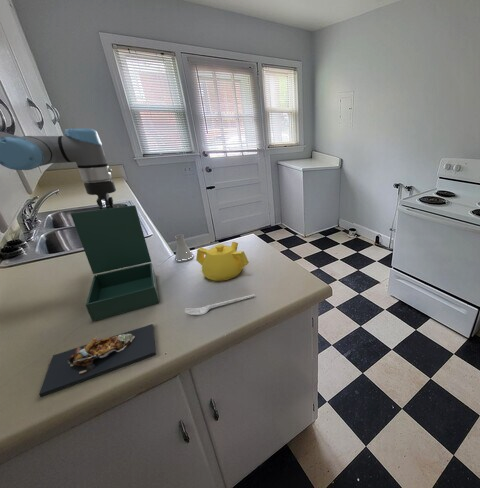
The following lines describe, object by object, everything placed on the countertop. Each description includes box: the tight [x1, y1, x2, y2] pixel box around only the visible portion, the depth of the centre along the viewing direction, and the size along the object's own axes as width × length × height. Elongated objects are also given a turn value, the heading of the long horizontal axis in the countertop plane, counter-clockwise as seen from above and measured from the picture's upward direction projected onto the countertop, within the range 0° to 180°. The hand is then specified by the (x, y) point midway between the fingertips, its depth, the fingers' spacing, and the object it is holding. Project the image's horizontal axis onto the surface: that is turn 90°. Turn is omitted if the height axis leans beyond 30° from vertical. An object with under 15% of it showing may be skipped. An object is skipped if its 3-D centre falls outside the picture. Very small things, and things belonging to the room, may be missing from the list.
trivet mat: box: [38, 323, 157, 397], centre depth 63 cm, size 20×12×1 cm, turn 123°
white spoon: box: [183, 293, 256, 316], centre depth 81 cm, size 3×20×2 cm, turn 118°
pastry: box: [68, 334, 135, 375], centre depth 63 cm, size 7×12×4 cm, turn 153°
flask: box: [174, 234, 195, 263], centre depth 109 cm, size 7×7×10 cm
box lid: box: [69, 204, 152, 275], centre depth 88 cm, size 20×16×1 cm
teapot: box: [195, 241, 249, 282], centre depth 99 cm, size 20×18×11 cm
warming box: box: [85, 262, 160, 322], centre depth 85 cm, size 19×16×6 cm
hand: (120, 247), depth 96 cm, fingers closed
